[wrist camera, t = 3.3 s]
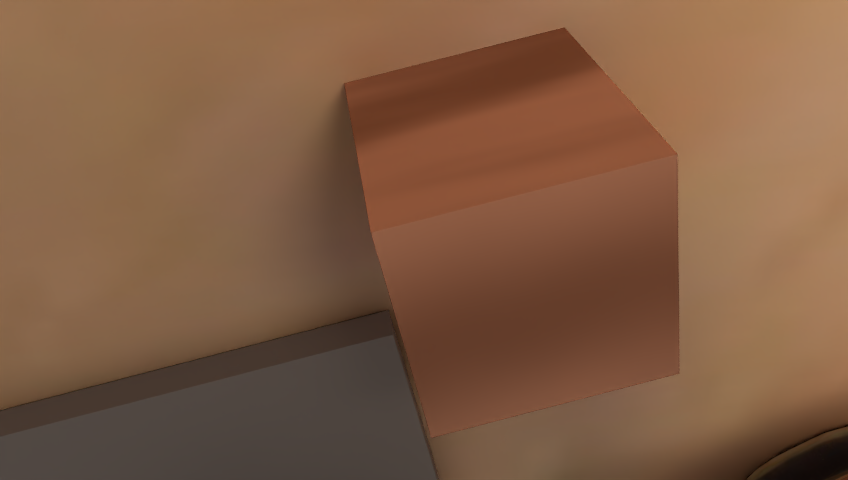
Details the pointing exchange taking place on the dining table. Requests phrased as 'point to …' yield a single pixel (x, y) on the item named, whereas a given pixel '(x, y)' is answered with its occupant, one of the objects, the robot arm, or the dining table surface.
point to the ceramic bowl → (810, 460)
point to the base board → (237, 417)
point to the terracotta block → (519, 228)
